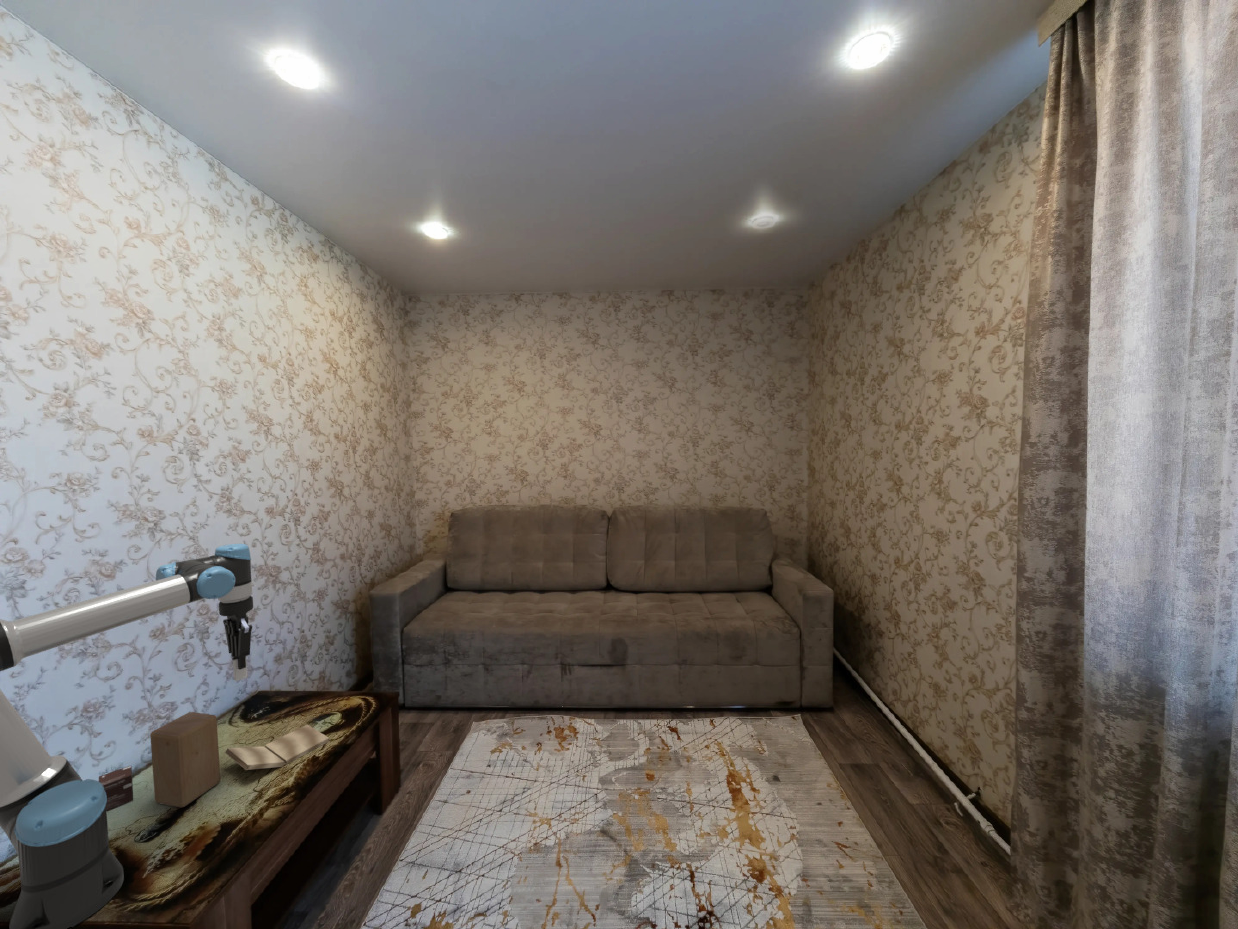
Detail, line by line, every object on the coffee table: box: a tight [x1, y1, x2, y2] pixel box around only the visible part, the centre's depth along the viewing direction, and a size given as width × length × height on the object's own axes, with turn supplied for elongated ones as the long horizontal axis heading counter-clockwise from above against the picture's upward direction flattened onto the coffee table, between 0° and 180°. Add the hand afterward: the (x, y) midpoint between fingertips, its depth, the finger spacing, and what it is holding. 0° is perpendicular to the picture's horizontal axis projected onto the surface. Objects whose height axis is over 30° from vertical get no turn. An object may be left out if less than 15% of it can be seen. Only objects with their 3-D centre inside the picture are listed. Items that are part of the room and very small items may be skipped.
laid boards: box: [264, 724, 330, 765], centre depth 145 cm, size 12×14×1 cm
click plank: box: [224, 745, 285, 771], centre depth 135 cm, size 10×14×1 cm
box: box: [98, 765, 134, 812], centre depth 122 cm, size 6×6×7 cm
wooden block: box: [149, 711, 221, 808], centre depth 125 cm, size 10×10×20 cm
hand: (240, 678), depth 132 cm, fingers closed
